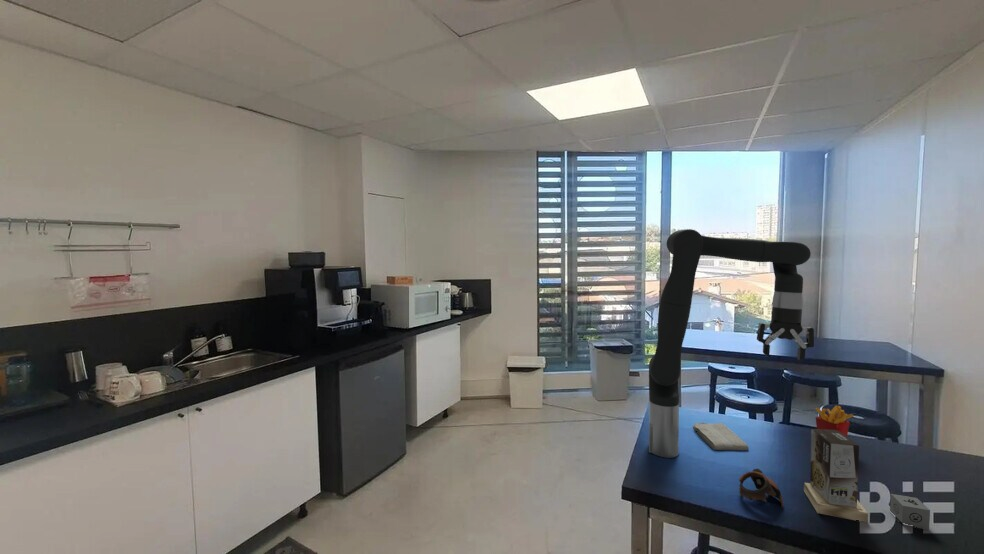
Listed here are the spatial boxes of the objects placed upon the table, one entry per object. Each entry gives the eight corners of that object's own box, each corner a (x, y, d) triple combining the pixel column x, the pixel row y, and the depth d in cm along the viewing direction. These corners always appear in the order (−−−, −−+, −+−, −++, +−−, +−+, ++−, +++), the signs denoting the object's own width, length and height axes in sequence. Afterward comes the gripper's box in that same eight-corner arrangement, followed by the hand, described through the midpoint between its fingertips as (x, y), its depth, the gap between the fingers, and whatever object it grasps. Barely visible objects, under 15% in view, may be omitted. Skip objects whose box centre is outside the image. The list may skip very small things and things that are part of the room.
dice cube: (929, 530, 94) (930, 510, 93) (901, 525, 96) (902, 505, 95) (915, 516, 98) (916, 497, 98) (889, 512, 100) (890, 493, 100)
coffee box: (858, 508, 98) (861, 445, 97) (828, 504, 100) (830, 443, 99) (836, 486, 107) (838, 429, 106) (808, 483, 108) (810, 427, 107)
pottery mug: (791, 517, 100) (776, 491, 99) (751, 521, 104) (737, 497, 104) (778, 480, 110) (765, 457, 110) (742, 486, 115) (729, 463, 114)
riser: (817, 513, 100) (817, 503, 100) (803, 490, 110) (804, 481, 109) (867, 522, 96) (868, 512, 96) (849, 499, 106) (849, 489, 105)
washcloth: (721, 428, 150) (722, 420, 150) (750, 452, 132) (750, 443, 132) (690, 428, 150) (690, 420, 150) (714, 452, 132) (714, 443, 132)
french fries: (813, 444, 135) (814, 402, 134) (830, 441, 137) (832, 399, 136) (842, 457, 127) (844, 412, 126) (860, 453, 129) (862, 408, 128)
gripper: (763, 305, 121) (759, 357, 122) (820, 309, 116) (815, 363, 116) (757, 303, 128) (753, 352, 129) (810, 307, 123) (806, 358, 123)
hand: (783, 358), depth 122 cm, fingers open, 8 cm apart
